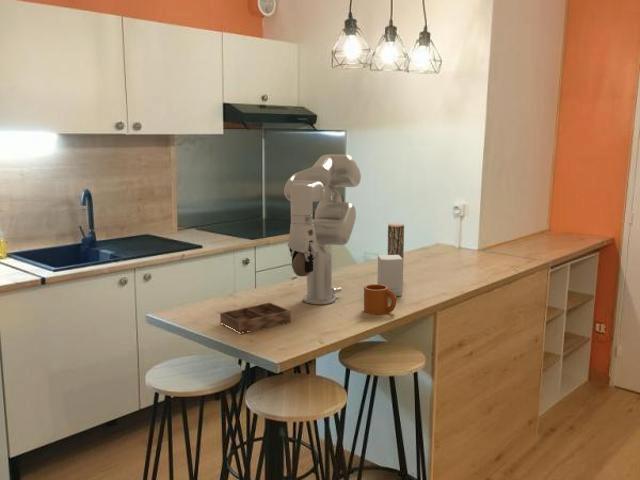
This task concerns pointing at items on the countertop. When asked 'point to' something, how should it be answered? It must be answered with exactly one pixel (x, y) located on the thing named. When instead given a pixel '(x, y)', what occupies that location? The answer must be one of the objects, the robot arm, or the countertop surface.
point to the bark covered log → (396, 239)
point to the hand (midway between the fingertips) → (302, 269)
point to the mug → (378, 299)
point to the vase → (300, 265)
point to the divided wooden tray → (255, 317)
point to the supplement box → (391, 272)
